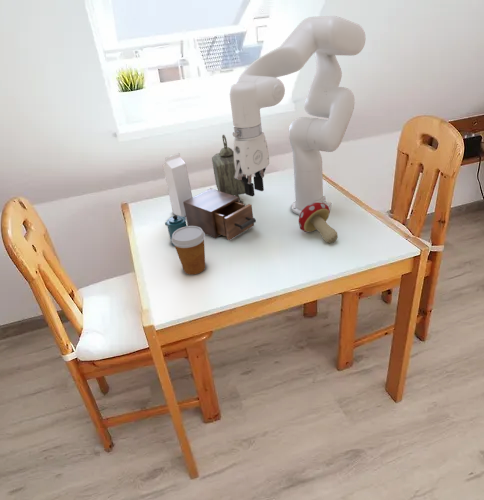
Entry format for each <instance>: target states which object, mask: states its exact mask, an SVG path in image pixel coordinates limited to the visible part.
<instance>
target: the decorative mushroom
mask: <svg viewBox="0 0 484 500" xmlns="http://www.w3.org/2000/svg"><path fill="white" fill-rule="evenodd" d="M330 212H331V209H330V210H329V207H328V206H327V205H326V204H324V203H316V202H315V203H312V204H309V205H307V206H306V207H305V208H304V209H303V210H302V211H301V213H300V215H298V227H299V229H300V230H301V231H303V232H304V233H311V232H314V231H317V232H318V233H319V234H320V236H321V237H322V239H323V240H324V241H325V243H328V244H332V243H335V242H336V241H337V240H338V238H339V236H338V235H339V234H338V232H337V230H336V229H334V228H333V227H332V226H330V225H329V224H328V223H327V220H329V216H330Z"/></svg>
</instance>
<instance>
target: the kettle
mask: <svg viewBox="0 0 484 500" xmlns="http://www.w3.org/2000/svg"><path fill="white" fill-rule="evenodd" d="M164 224H165V226H166V227H167V231H168V236H169V240H170V244H171V246H173V247H175V245H174V244H173V243H172V241H171V239H172V234H173V233H174V232H175V231H176V230H177V229H179V228H182V227H186V226H188V224H187V219H186V217H182V216H177V215H175V214H173V215H172V216H171V217H169V218H168V219H167V220H166V221H165V222H164Z"/></svg>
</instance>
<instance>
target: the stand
mask: <svg viewBox="0 0 484 500" xmlns="http://www.w3.org/2000/svg"><path fill="white" fill-rule="evenodd" d="M239 197H240V196H239ZM239 197H237V196H234V195H230V194H227V193H224V192H221V191H218V189H214V188H211V187H210V188H209V189H207V190H204V191H202V192H201V193H198V194H196V195H194V196H192V198H190V199H188V200H186V201H184V202H183V204H184V208H185V213H186V216H185V219H186V224H187V226H197V227H200V228H201V229H202V230H203V232H204V233H205V235H206V236H209V237H212V238H214V239H217V238H219V237H220V236H222V235H221V234H218V233H216V227H215V221H214V215H213V213H215V212H217V211H218V210H220V209H222V208H224V207H226V206H228V205H230V204H232V203H233V202H235V201H236V202H239V203H240V200H239Z"/></svg>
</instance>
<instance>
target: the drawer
mask: <svg viewBox="0 0 484 500" xmlns="http://www.w3.org/2000/svg"><path fill="white" fill-rule="evenodd" d="M213 215H214V221H215V227H216V233H218V234H221V235H220V236H224V237H226V240H228V241H231V240H233V239H234V238H236V237H238V236H240V235H241V234H243V233H245V232H247V231H248V230H250V229H251V228H253V227H254V226H255V223H256V222H257V219H256V218H255V217H254V213H253V205H252V204H251V203H248V204H245V203H244V204H242V203H239V202H236V201H235V202H233V203H232V204H230V205H228V206H226V207H224V208H222V209H220V210H218V211H217V212H215V213H213Z"/></svg>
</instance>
